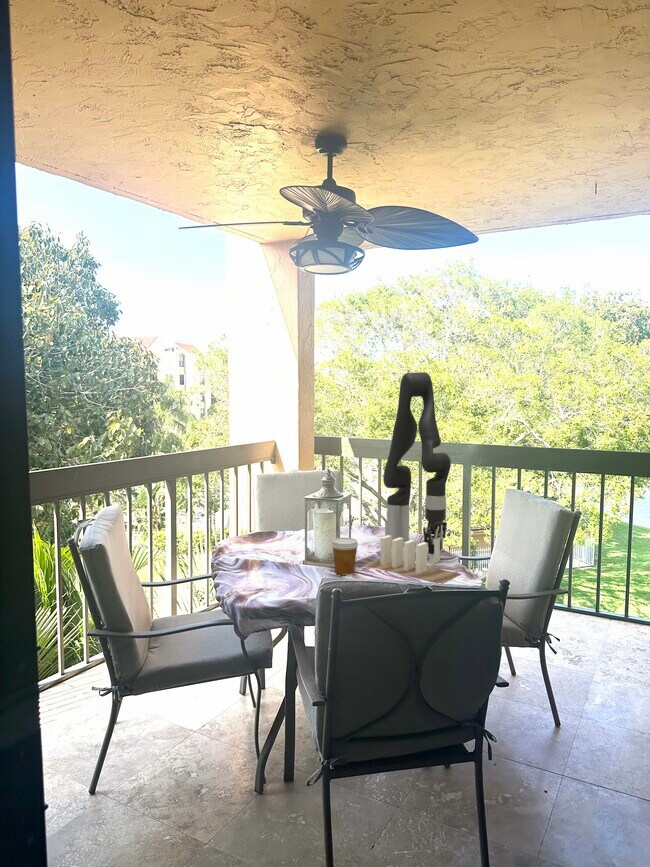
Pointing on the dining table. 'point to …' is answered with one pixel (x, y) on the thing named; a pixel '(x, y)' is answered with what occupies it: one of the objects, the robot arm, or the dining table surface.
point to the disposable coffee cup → (344, 555)
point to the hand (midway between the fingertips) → (434, 551)
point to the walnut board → (429, 575)
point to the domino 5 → (435, 552)
